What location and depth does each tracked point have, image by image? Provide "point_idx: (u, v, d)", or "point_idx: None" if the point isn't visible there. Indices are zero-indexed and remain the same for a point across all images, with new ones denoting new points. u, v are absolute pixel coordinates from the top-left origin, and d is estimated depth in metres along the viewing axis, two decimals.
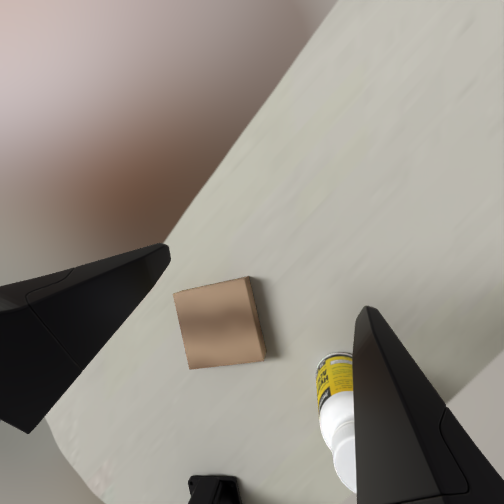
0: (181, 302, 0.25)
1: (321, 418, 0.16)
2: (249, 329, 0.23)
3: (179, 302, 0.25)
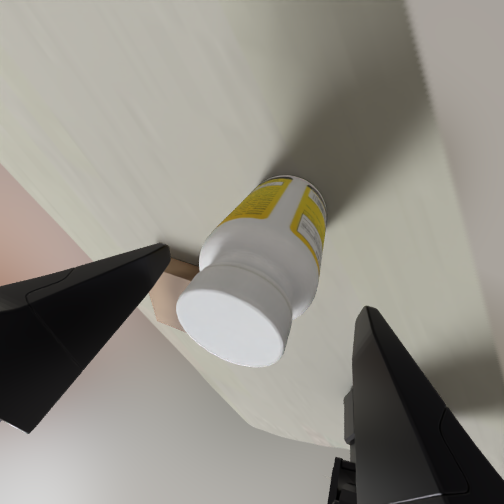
0: (164, 320, 0.25)
1: None
2: None
3: (164, 321, 0.25)
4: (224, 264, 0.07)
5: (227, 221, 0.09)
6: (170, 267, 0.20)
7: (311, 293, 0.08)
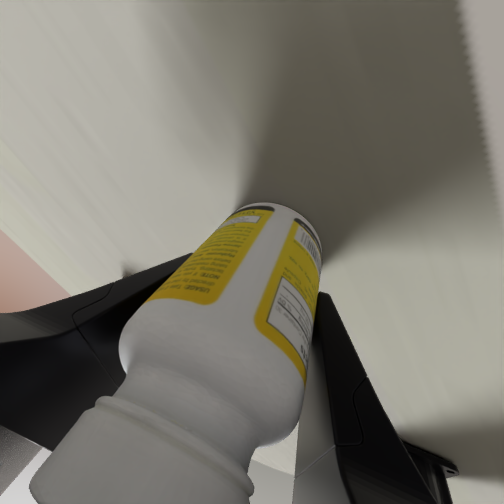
0: None
1: None
2: None
3: None
4: (121, 411, 0.04)
5: (155, 300, 0.05)
6: None
7: (291, 427, 0.05)
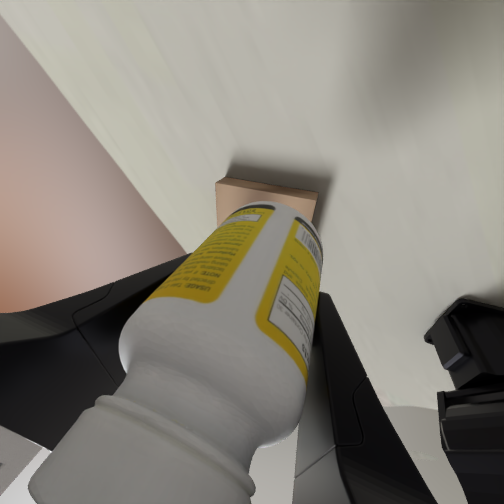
0: None
1: None
2: (272, 201, 0.18)
3: None
4: (121, 410, 0.04)
5: (155, 298, 0.05)
6: (247, 185, 0.19)
7: (292, 427, 0.05)
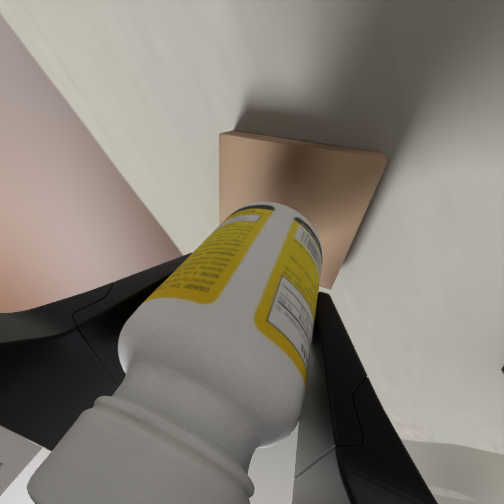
0: None
1: None
2: (311, 163, 0.11)
3: None
4: (120, 411, 0.04)
5: (154, 299, 0.05)
6: (269, 139, 0.12)
7: (291, 427, 0.05)
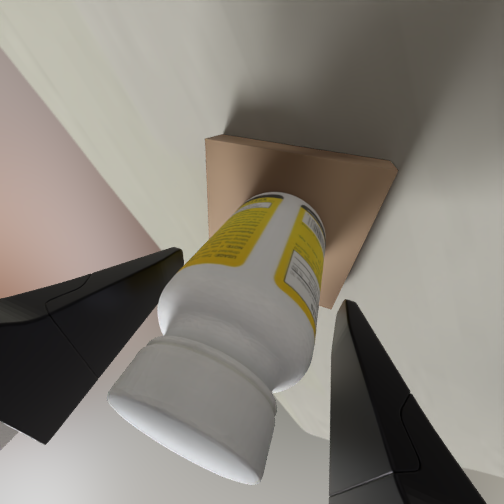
0: None
1: None
2: (309, 172, 0.10)
3: None
4: (175, 342, 0.05)
5: (190, 266, 0.06)
6: (261, 145, 0.11)
7: (305, 367, 0.06)
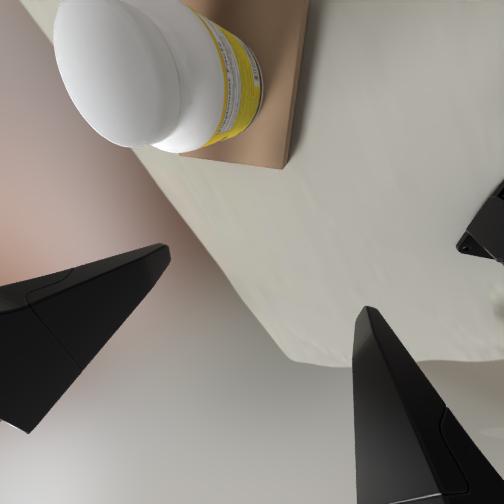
0: None
1: (152, 144, 0.11)
2: (240, 10, 0.12)
3: None
4: None
5: None
6: None
7: (209, 70, 0.08)
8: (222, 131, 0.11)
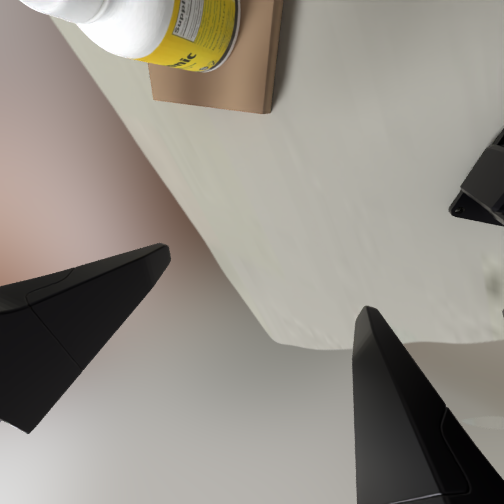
0: (164, 88, 0.16)
1: (98, 45, 0.09)
2: None
3: (164, 91, 0.16)
4: None
5: None
6: None
7: None
8: (181, 34, 0.09)
